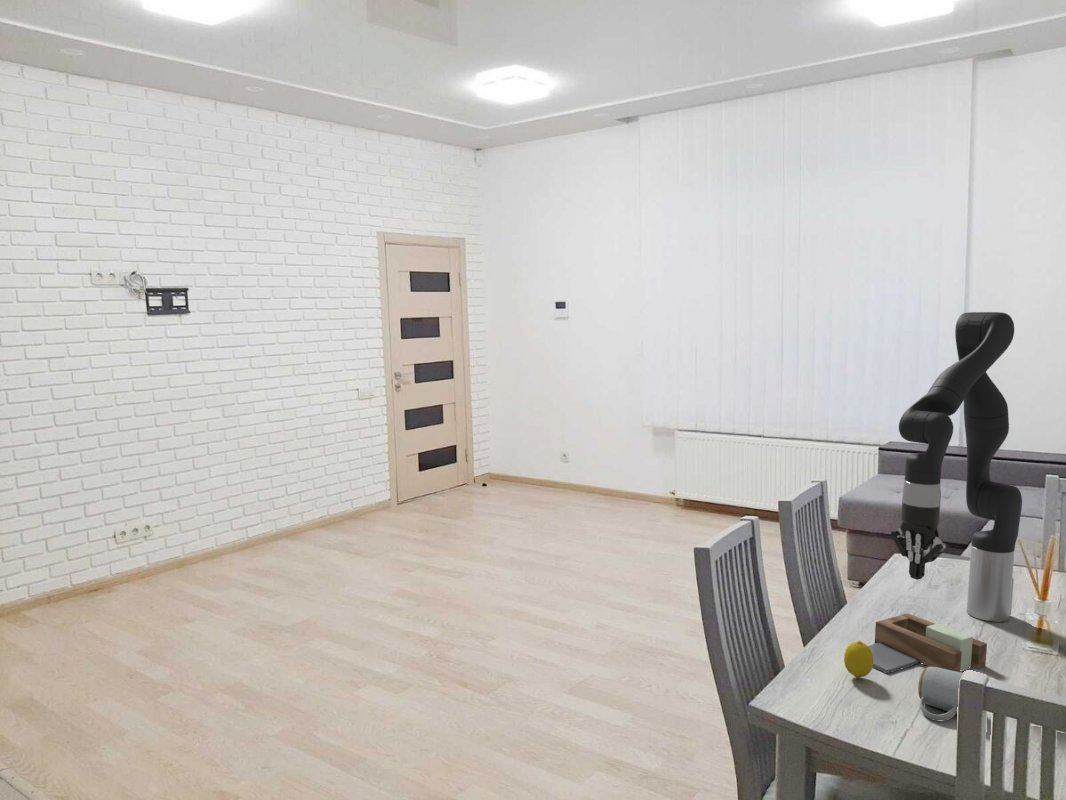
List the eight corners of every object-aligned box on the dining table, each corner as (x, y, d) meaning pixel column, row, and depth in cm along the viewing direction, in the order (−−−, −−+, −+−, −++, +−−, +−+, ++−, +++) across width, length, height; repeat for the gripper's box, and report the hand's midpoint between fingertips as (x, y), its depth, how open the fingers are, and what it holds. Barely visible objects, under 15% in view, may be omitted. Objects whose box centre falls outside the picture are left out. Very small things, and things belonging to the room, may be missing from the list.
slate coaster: (878, 646, 181) (878, 642, 181) (918, 663, 172) (918, 660, 172) (847, 655, 176) (847, 651, 176) (886, 673, 168) (887, 670, 168)
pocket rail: (906, 633, 188) (908, 613, 187) (985, 666, 171) (987, 643, 171) (874, 643, 183) (875, 622, 182) (952, 677, 166) (954, 654, 165)
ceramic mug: (928, 693, 159) (930, 656, 158) (973, 707, 154) (976, 669, 153) (909, 714, 152) (911, 675, 151) (956, 730, 146) (959, 690, 145)
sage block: (936, 653, 177) (938, 623, 177) (970, 668, 170) (972, 636, 170) (924, 657, 176) (926, 626, 175) (958, 672, 169) (960, 640, 168)
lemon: (874, 685, 162) (876, 647, 162) (845, 683, 164) (847, 645, 163) (869, 673, 168) (871, 636, 167) (841, 671, 169) (842, 634, 168)
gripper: (960, 506, 172) (954, 584, 174) (905, 493, 184) (901, 567, 186) (937, 510, 169) (932, 590, 171) (883, 497, 180) (879, 572, 183)
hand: (916, 578), depth 178 cm, fingers closed
